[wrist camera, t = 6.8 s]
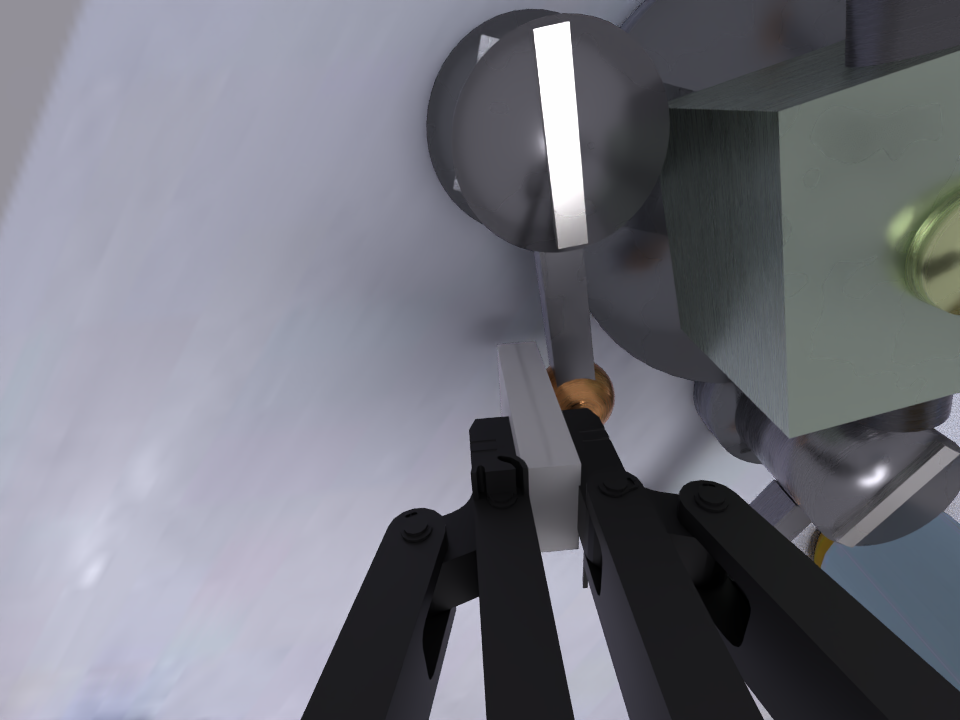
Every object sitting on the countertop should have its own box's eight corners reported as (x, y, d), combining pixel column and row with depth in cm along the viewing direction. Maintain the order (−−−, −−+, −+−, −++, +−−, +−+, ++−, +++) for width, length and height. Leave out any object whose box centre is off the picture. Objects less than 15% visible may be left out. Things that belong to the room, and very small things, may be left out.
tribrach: (1125, -213, 14) (2133, -683, 6) (1006, 369, 23) (1328, 525, 15) (401, 59, 16) (344, 14, 8) (548, 494, 25) (595, 692, 17)
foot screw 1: (436, 59, 15) (428, 39, 10) (600, 25, 14) (674, -14, 10) (501, 395, 20) (517, 490, 15) (621, 373, 20) (676, 462, 15)
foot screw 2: (790, 337, 19) (903, 416, 14) (876, 383, 21) (1007, 471, 16) (619, 536, 24) (661, 648, 19) (697, 565, 25) (756, 677, 20)
